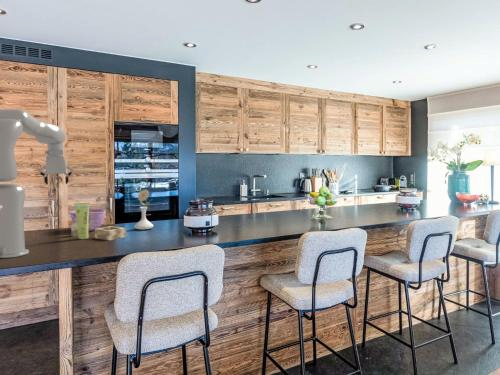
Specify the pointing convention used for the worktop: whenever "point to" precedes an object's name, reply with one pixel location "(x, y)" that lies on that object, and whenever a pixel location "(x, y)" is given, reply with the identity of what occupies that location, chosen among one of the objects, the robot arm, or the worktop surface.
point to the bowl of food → (91, 218)
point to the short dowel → (74, 230)
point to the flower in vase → (143, 212)
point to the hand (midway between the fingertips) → (56, 184)
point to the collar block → (110, 233)
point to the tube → (82, 219)
